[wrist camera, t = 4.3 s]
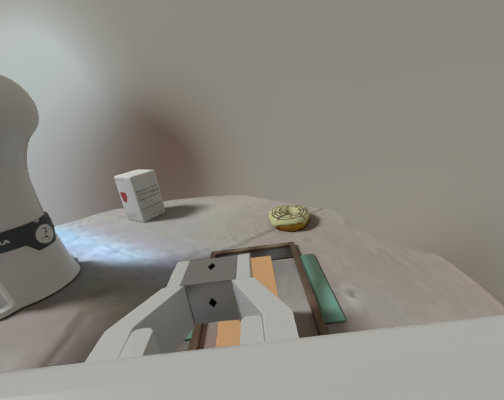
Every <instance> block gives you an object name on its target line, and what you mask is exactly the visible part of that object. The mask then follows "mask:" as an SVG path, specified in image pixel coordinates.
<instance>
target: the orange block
mask: <svg viewBox="0 0 504 400" xmlns="http://www.w3.org/2000/svg"><path fill="white" fill-rule="evenodd" d="M251 262H252V269H253V276H254V277H255V278H256V279H257V280H258V281H259V282H260V283H261V284H263V285H264V286H265V287H266V288H267V289H268V290H270V291H271V292H272V293H273V294H274V295H275V296H277V297H278V293H277V288H276V282H275V277H274V271H273V266H272V260H271V256H263V257H255V258H251ZM240 331H241V322H240V321H239V320H230V321H219V324H218V332H217V340H216V347H225V346H233V345H240Z"/></svg>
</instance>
